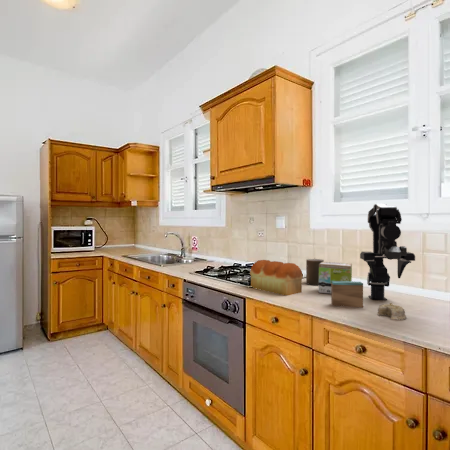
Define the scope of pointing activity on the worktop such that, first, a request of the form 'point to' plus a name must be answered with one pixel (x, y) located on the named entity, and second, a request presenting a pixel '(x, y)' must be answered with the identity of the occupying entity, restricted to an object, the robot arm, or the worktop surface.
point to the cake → (392, 311)
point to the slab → (347, 293)
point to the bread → (276, 277)
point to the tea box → (333, 274)
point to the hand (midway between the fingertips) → (386, 277)
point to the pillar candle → (312, 271)
